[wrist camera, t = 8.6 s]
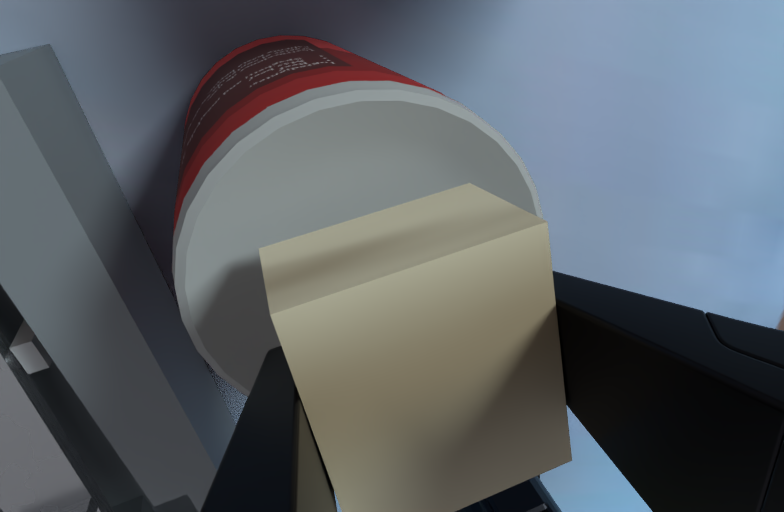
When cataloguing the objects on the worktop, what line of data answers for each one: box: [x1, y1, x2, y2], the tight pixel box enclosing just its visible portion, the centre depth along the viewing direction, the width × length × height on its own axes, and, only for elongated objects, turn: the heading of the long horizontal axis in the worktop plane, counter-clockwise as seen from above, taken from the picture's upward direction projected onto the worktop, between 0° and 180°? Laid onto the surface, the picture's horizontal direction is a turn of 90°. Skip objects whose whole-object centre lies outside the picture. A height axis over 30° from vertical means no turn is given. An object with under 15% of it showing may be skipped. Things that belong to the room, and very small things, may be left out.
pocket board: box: [0, 44, 236, 512], centre depth 19 cm, size 24×13×5 cm, turn 11°
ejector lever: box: [0, 328, 114, 512], centre depth 18 cm, size 18×3×3 cm, turn 11°
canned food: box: [172, 35, 543, 396], centre depth 15 cm, size 8×8×11 cm
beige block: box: [259, 183, 572, 512], centre depth 9 cm, size 5×4×3 cm
